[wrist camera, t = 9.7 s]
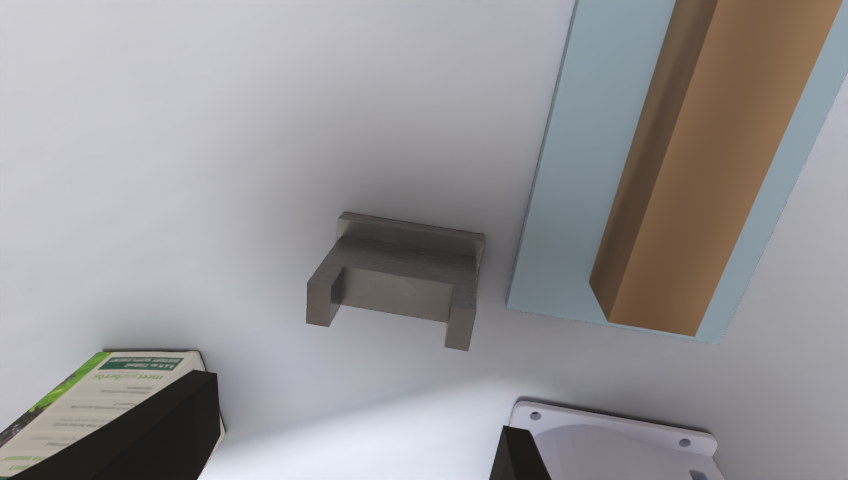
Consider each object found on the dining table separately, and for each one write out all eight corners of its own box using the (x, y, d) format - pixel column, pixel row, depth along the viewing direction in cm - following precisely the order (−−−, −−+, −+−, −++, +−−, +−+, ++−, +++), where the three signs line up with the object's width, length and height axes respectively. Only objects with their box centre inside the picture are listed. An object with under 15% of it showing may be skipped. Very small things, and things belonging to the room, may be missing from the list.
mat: (1005, -302, 12) (1031, -319, 11) (712, 336, 20) (719, 344, 19) (654, -337, 12) (662, -355, 12) (505, 301, 20) (506, 309, 20)
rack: (561, -156, 14) (603, -259, 9) (471, 296, 20) (470, 368, 16) (368, -179, 14) (315, -289, 10) (339, 274, 20) (299, 339, 16)
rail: (862, -221, 12) (974, -300, 9) (662, 294, 19) (694, 336, 16) (748, -233, 12) (826, -314, 10) (588, 282, 19) (607, 322, 16)
